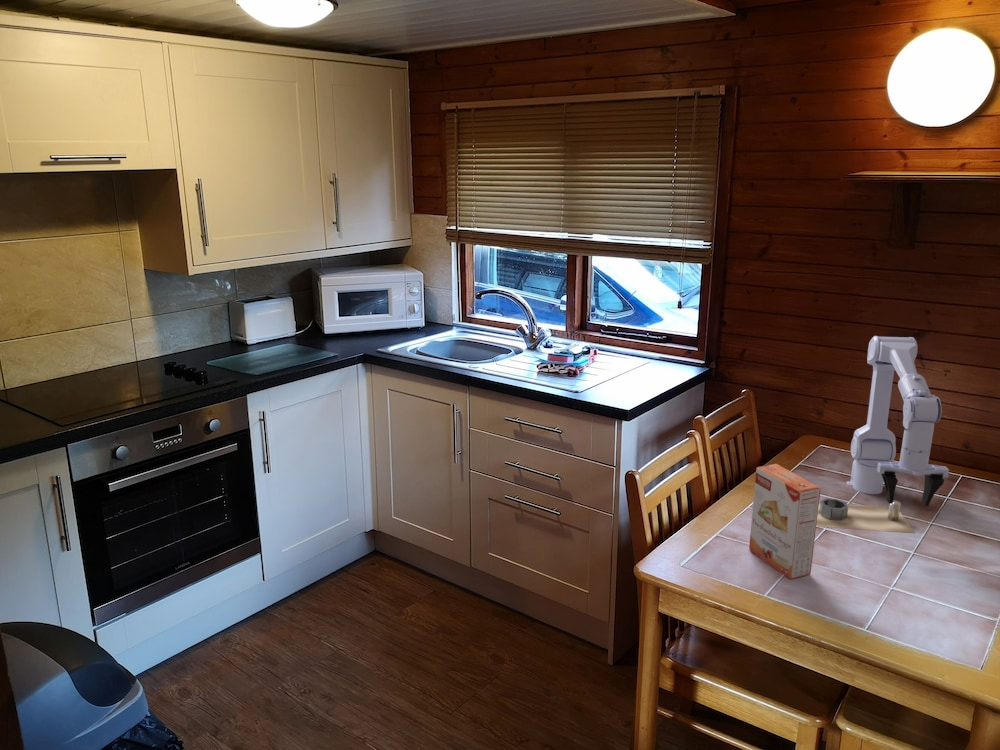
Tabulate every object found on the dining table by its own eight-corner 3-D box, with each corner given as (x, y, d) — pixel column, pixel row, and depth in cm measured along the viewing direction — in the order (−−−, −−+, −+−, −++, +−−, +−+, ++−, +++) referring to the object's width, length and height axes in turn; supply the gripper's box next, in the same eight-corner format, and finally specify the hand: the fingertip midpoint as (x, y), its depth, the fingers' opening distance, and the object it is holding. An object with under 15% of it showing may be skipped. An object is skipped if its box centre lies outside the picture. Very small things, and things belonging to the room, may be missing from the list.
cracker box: (747, 550, 178) (755, 466, 172) (768, 545, 180) (777, 462, 174) (788, 580, 165) (799, 490, 160) (811, 575, 167) (822, 486, 162)
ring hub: (817, 508, 196) (818, 497, 195) (842, 510, 195) (843, 499, 194) (823, 519, 190) (824, 508, 189) (848, 521, 189) (850, 510, 188)
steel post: (886, 516, 192) (888, 500, 190) (896, 517, 191) (899, 500, 190) (889, 521, 189) (892, 505, 188) (900, 522, 188) (902, 505, 187)
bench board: (805, 505, 200) (805, 501, 200) (896, 511, 197) (896, 507, 196) (817, 530, 187) (818, 526, 187) (915, 537, 183) (915, 533, 183)
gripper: (887, 452, 172) (879, 508, 176) (957, 456, 170) (947, 512, 173) (877, 441, 179) (870, 495, 182) (945, 444, 176) (936, 499, 180)
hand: (907, 503), depth 178 cm, fingers open, 7 cm apart
